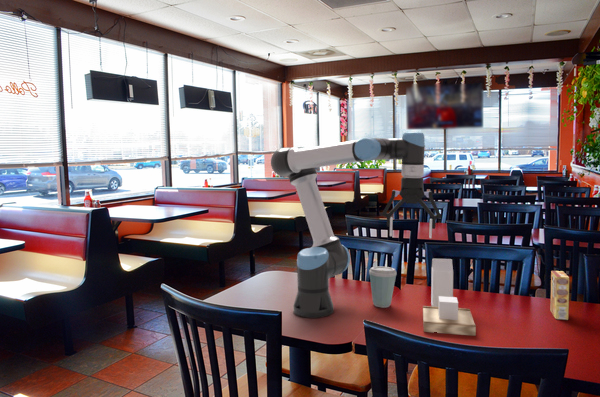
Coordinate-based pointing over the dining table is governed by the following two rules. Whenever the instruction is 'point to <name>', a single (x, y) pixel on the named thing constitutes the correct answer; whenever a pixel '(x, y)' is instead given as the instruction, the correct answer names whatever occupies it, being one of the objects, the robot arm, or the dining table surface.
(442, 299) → the white cube
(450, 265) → the milk carton
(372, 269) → the disposable coffee cup
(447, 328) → the board
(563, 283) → the candy box
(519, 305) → the dining table surface
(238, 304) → the dining table surface
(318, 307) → the robot arm
